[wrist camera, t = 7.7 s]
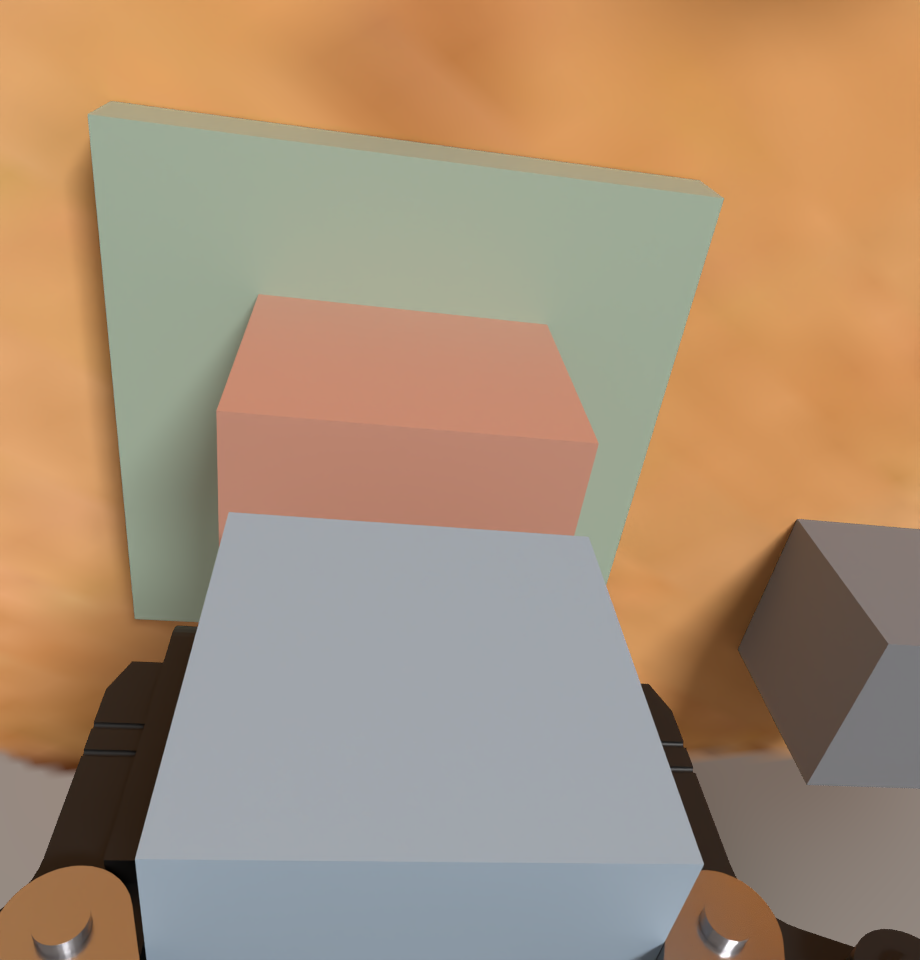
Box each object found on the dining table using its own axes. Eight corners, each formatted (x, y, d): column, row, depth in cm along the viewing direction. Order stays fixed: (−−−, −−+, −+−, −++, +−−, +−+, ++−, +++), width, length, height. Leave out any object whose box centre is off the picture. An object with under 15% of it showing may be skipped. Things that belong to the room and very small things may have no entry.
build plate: (699, 180, 18) (723, 198, 16) (577, 605, 24) (588, 641, 23) (110, 101, 16) (87, 113, 15) (148, 580, 22) (135, 618, 21)
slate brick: (956, 530, 24) (1080, 655, 19) (882, 656, 26) (978, 790, 22) (796, 517, 23) (888, 644, 19) (737, 647, 26) (806, 785, 21)
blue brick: (588, 536, 12) (704, 863, 8) (524, 765, 14) (583, 1102, 10) (228, 512, 11) (134, 859, 7) (230, 757, 14) (164, 1116, 9)
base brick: (547, 324, 17) (598, 443, 13) (500, 548, 21) (529, 701, 16) (258, 294, 17) (215, 411, 12) (255, 532, 20) (221, 689, 16)
